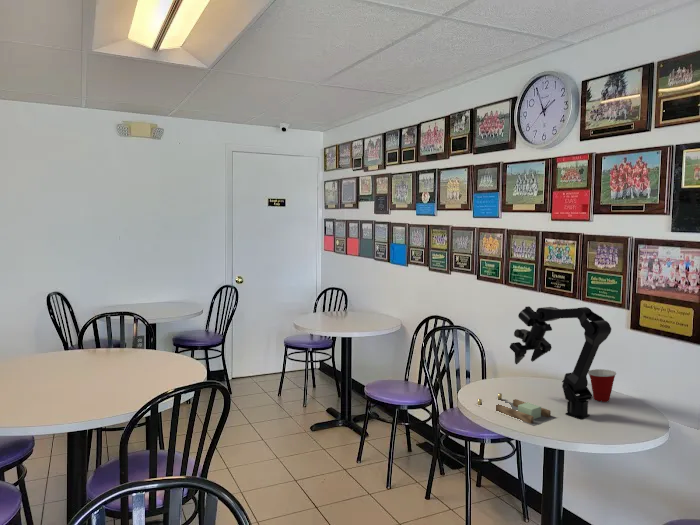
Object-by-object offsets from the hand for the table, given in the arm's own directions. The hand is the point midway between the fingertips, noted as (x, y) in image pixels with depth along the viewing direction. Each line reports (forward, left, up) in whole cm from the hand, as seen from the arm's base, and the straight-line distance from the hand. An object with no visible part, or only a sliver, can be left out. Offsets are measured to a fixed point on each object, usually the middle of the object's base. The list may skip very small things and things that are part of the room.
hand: (523, 362), depth 228 cm
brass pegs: (+1, +21, -14) cm, 25 cm away
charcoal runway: (-11, +21, -14) cm, 27 cm away
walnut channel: (-15, +21, -14) cm, 29 cm away
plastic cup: (-23, -20, -14) cm, 34 cm away
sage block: (-18, +21, -14) cm, 31 cm away
